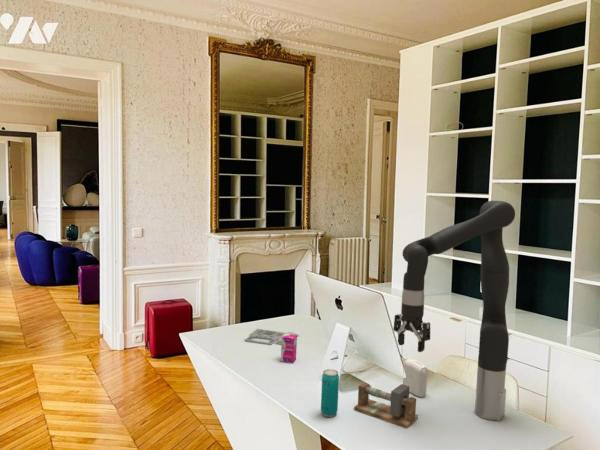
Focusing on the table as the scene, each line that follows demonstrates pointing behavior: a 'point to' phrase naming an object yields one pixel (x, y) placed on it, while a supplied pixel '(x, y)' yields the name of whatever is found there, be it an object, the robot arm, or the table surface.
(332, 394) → the beverage can
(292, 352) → the supplement box
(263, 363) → the table surface
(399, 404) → the collar
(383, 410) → the rail
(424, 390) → the photo printer
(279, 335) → the office telephone
